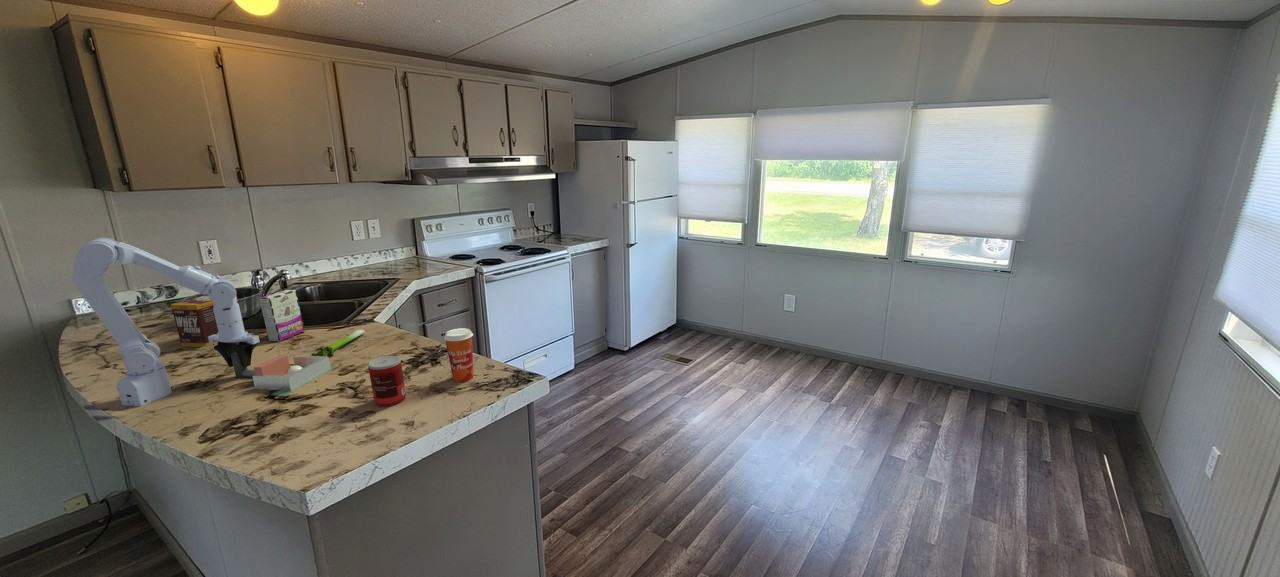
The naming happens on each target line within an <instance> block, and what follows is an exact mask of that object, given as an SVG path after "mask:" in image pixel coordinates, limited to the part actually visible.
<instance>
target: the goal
mask: <svg viewBox="0 0 1280 577" xmlns="http://www.w3.org/2000/svg"><path fill="white" fill-rule="evenodd" d="M292 359H293V364H294V365H293V366H301V367H302V369H300V370H299V371H297V372H295V373H293V374H291V375H289V376H288V375H282V376H276V375H254V376H252V381H253V385H254V390H270V391H273V390H275V391H293V390H294V389H296V388H298V387H300V386H301V385H303V384H305V383H307V382H309V381H310V380H312V379H314V378H316V377H318V376H319V375H321V374H323V373H325V372H327V371H328V370H330V369H331V367H330V366H331V363H330V358H329V356H327V357H324V355H322V356H318V355H317V356H310V355H294V356H292ZM330 371H331V370H330ZM328 372H329V371H328ZM328 372H327V373H328ZM325 374H326V373H325ZM323 375H324V374H323ZM321 376H322V375H321ZM318 378H319V377H318ZM316 379H317V378H316ZM314 380H315V379H314ZM312 381H313V380H312ZM309 383H310V382H309ZM307 384H308V383H307ZM305 385H306V384H305ZM300 388H301V387H300ZM298 389H299V388H298ZM296 390H297V389H296ZM293 392H294V391H293Z"/></svg>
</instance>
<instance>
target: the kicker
mask: <svg viewBox="0 0 1280 577" xmlns="http://www.w3.org/2000/svg"><path fill="white" fill-rule="evenodd" d="M231 359H232V363H233V370H234V376H235V378H236V379H242V378H245V377H252V376H254V375H276V376H285V375H286V374H287V372H288V370H289V368H291V367H290V362H289V357H288V355H287V354H286V355H285V354H279V355H277V356H274V357H273V358H271V359H269V360H266V361H264V362H261V363H260V364H257V365H256V366H255V365H254V366H253V369H248V366H247V367H245V368H243V367H242V365H241V363H240V359H239V357H238V355H237V353H236V352H235V353H232V354H231ZM252 378H253V377H252Z"/></svg>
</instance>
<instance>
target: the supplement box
mask: <svg viewBox="0 0 1280 577" xmlns="http://www.w3.org/2000/svg"><path fill="white" fill-rule="evenodd" d="M236 298H237V295H236ZM181 301H182V300H181ZM181 301H179V302H178V301H177V302H175V303H171V304H170V307H171V310H172V314H173V315H172V316H173V318H174V322H175V326H176V329H177V333H178V337H179V341H180V345H181V347H186V348H187V347H189V348H204V347H206V346H207V347H209V346H210V347H211V345H212V346H214V345H213V344H215V345H217V344H218V342H214V343H209V339H208V336H211V335H214V334H219V331H218V327H217V323H216V318H215V314H214V310H213V307H214V305H213V301H212V299H211V298H210V297H209V295H204V296H200V297H197V298H193V299H189V300H186V301H182V302H181ZM237 303H238V300H237ZM216 343H217V344H216Z"/></svg>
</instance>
